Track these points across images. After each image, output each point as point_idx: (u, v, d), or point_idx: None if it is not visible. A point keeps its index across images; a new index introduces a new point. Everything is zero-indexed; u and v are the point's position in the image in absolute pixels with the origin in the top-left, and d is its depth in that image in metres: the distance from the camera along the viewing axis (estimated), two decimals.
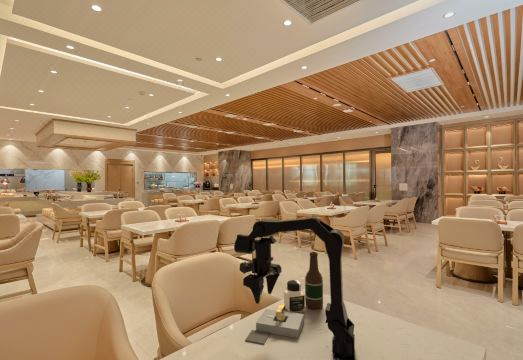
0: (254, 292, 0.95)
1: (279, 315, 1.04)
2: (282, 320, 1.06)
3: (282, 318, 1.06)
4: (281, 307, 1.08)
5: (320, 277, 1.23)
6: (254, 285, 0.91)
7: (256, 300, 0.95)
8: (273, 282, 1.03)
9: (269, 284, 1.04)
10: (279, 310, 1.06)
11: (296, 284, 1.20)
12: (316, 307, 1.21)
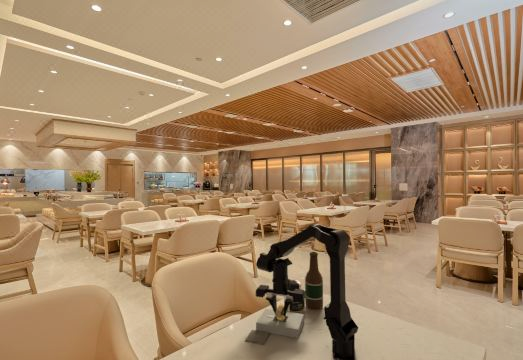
0: None
1: (279, 315, 1.04)
2: (282, 320, 1.06)
3: (282, 318, 1.06)
4: (281, 307, 1.08)
5: (320, 277, 1.22)
6: None
7: None
8: None
9: None
10: (279, 310, 1.06)
11: (296, 284, 1.20)
12: (316, 307, 1.21)
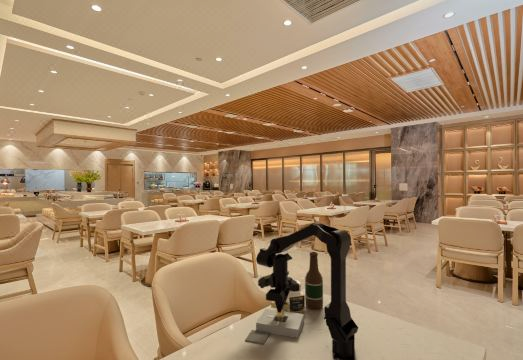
0: (277, 302, 1.05)
1: (289, 306, 1.07)
2: None
3: None
4: None
5: (320, 277, 1.22)
6: (278, 299, 0.98)
7: (278, 309, 1.05)
8: (285, 297, 1.09)
9: None
10: (286, 303, 1.07)
11: (296, 284, 1.20)
12: (316, 307, 1.21)
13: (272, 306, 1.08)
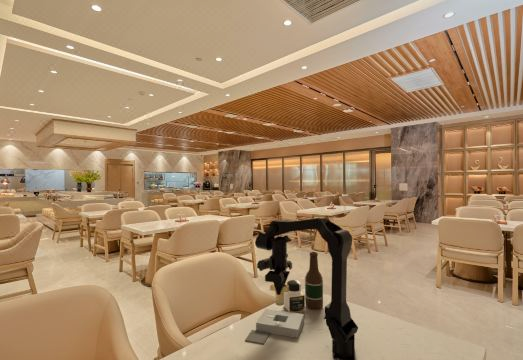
0: (276, 284, 1.05)
1: (288, 289, 1.07)
2: None
3: None
4: None
5: (320, 277, 1.22)
6: (277, 280, 0.98)
7: (277, 291, 1.05)
8: (284, 280, 1.09)
9: None
10: (285, 285, 1.07)
11: (296, 284, 1.20)
12: (316, 307, 1.21)
13: (271, 289, 1.07)
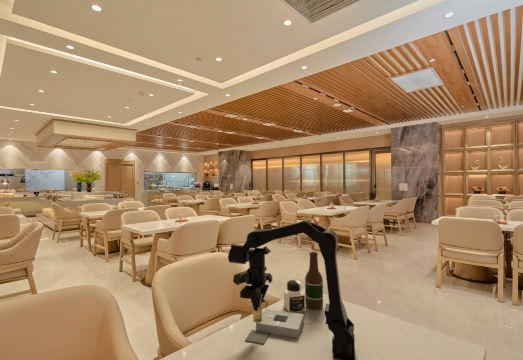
0: (253, 300, 0.97)
1: (267, 304, 0.99)
2: None
3: None
4: None
5: (320, 277, 1.22)
6: (252, 297, 0.91)
7: (255, 308, 0.98)
8: (263, 294, 1.01)
9: None
10: (263, 300, 1.00)
11: (296, 284, 1.20)
12: (316, 307, 1.21)
13: (248, 304, 1.00)
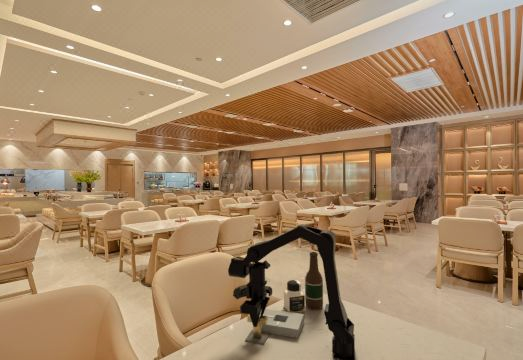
0: (252, 316, 0.96)
1: (267, 320, 0.99)
2: None
3: None
4: None
5: (320, 277, 1.23)
6: (252, 312, 0.91)
7: (254, 323, 0.97)
8: (264, 307, 1.02)
9: None
10: (263, 316, 1.00)
11: (296, 284, 1.20)
12: (316, 307, 1.21)
13: (248, 320, 1.00)
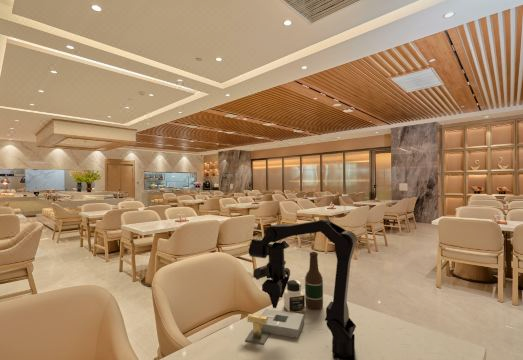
0: (272, 297, 0.96)
1: (267, 320, 0.99)
2: None
3: None
4: (257, 315, 1.00)
5: (320, 277, 1.22)
6: (275, 290, 0.92)
7: (274, 305, 0.96)
8: (284, 285, 1.06)
9: None
10: (263, 316, 1.00)
11: (296, 284, 1.20)
12: (316, 307, 1.21)
13: (248, 320, 1.00)
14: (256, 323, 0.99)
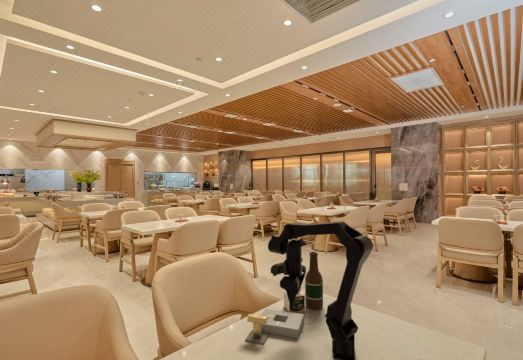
0: (289, 293, 0.98)
1: (267, 320, 0.99)
2: None
3: None
4: (257, 315, 1.00)
5: (320, 277, 1.22)
6: (293, 286, 0.94)
7: (290, 301, 0.98)
8: (300, 282, 1.07)
9: None
10: (263, 316, 1.00)
11: None
12: (316, 307, 1.21)
13: (248, 320, 1.00)
14: (256, 323, 0.99)
